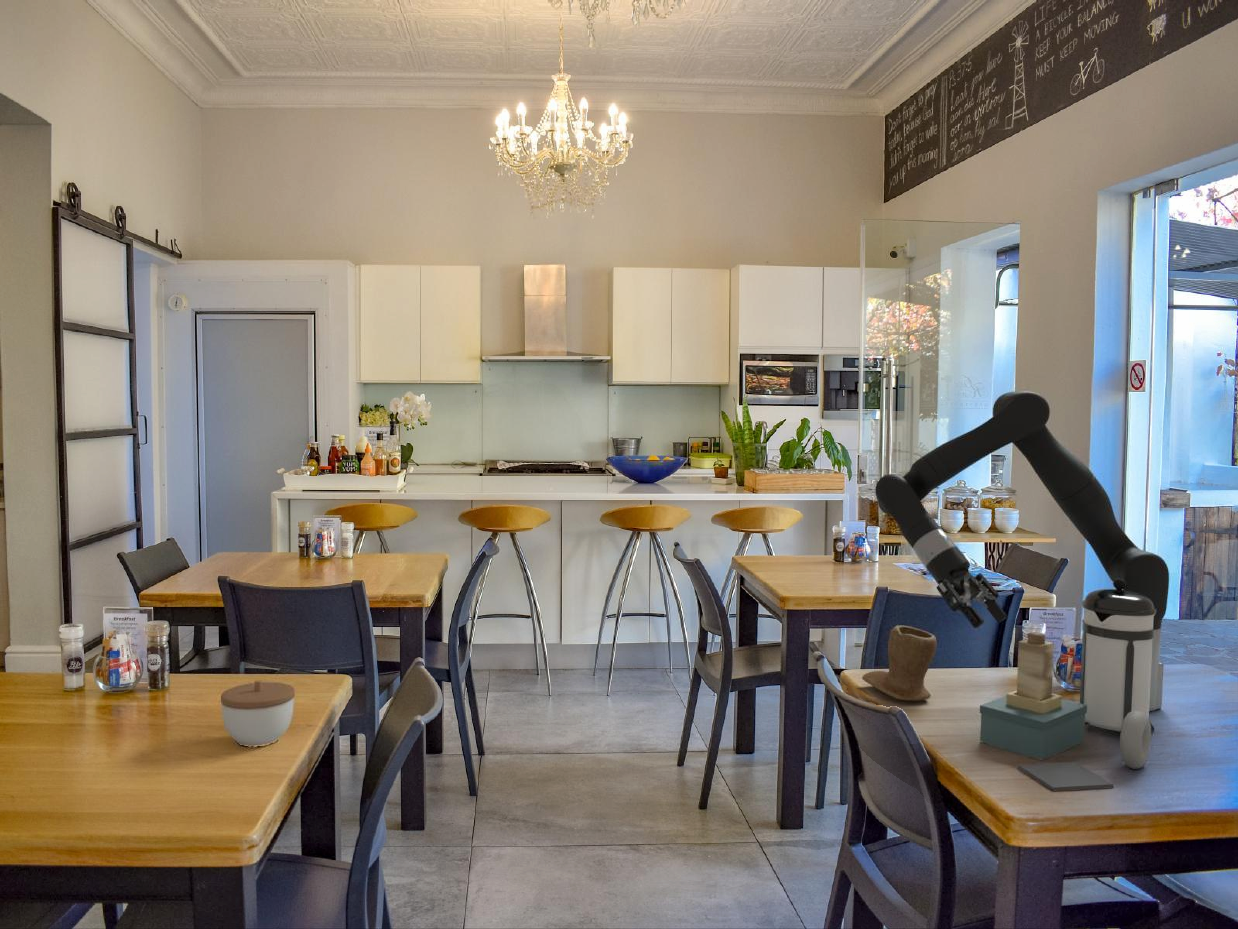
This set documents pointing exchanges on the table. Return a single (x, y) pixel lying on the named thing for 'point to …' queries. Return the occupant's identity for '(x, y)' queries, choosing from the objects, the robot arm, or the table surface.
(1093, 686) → the coffee press
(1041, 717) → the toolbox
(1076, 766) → the rubber mat
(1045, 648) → the wooden block
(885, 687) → the brown top hat
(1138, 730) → the donut
